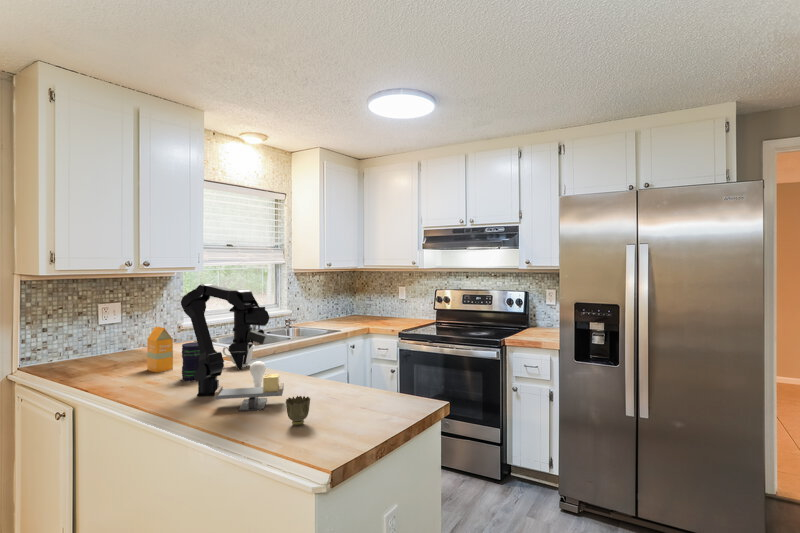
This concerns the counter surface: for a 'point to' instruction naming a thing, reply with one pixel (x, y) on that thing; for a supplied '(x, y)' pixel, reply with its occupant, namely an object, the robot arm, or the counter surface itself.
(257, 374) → the lightbulb
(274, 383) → the golden cube
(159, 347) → the orange juice
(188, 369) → the dark blue cylinder
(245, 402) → the pivot stand
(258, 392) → the beam
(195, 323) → the robot arm
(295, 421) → the cup
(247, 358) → the teacup
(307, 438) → the counter surface
